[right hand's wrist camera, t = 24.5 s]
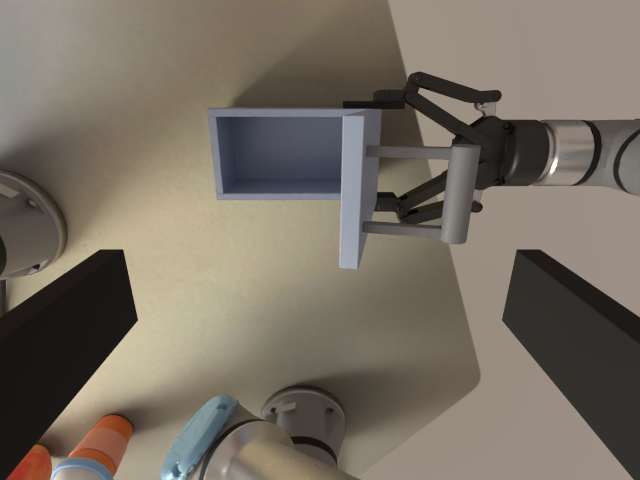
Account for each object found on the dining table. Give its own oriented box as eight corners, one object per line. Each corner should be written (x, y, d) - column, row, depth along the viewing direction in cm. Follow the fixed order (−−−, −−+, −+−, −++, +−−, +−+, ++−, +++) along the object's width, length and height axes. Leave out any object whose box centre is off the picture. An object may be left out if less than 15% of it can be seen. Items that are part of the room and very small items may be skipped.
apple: (10, 460, 70) (-38, 516, 60) (14, 425, 66) (-36, 478, 57) (62, 473, 71) (23, 529, 61) (68, 439, 68) (27, 493, 58)
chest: (232, 183, 50) (216, 200, 42) (226, 107, 47) (207, 108, 38) (360, 183, 51) (369, 199, 42) (363, 107, 47) (374, 108, 39)
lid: (338, 268, 25) (467, 280, 23) (342, 115, 21) (494, 116, 20) (365, 201, 42) (441, 205, 40) (369, 109, 38) (453, 109, 36)
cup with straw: (134, 406, 65) (69, 514, 48) (146, 444, 68) (89, 557, 51) (84, 409, 65) (2, 517, 48) (98, 446, 68) (26, 559, 51)
